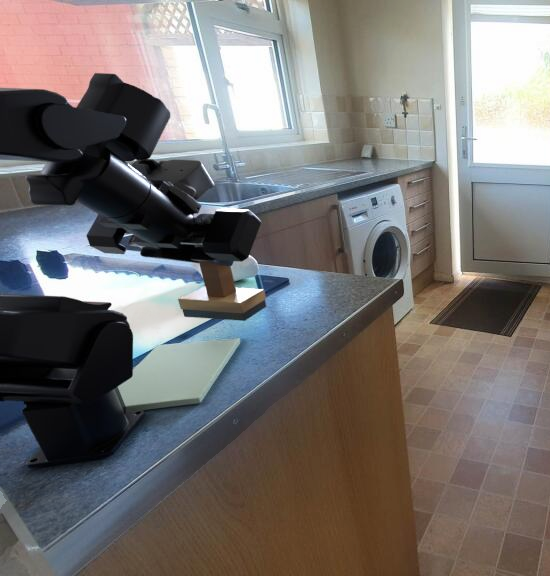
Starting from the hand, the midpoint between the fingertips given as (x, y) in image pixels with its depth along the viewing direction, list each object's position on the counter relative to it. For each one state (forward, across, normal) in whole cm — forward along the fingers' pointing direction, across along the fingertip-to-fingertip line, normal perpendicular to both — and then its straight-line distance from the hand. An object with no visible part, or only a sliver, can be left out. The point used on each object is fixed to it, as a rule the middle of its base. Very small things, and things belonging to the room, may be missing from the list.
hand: (222, 262), depth 57 cm
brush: (+4, 0, +6) cm, 7 cm away
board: (0, 0, +16) cm, 16 cm away
